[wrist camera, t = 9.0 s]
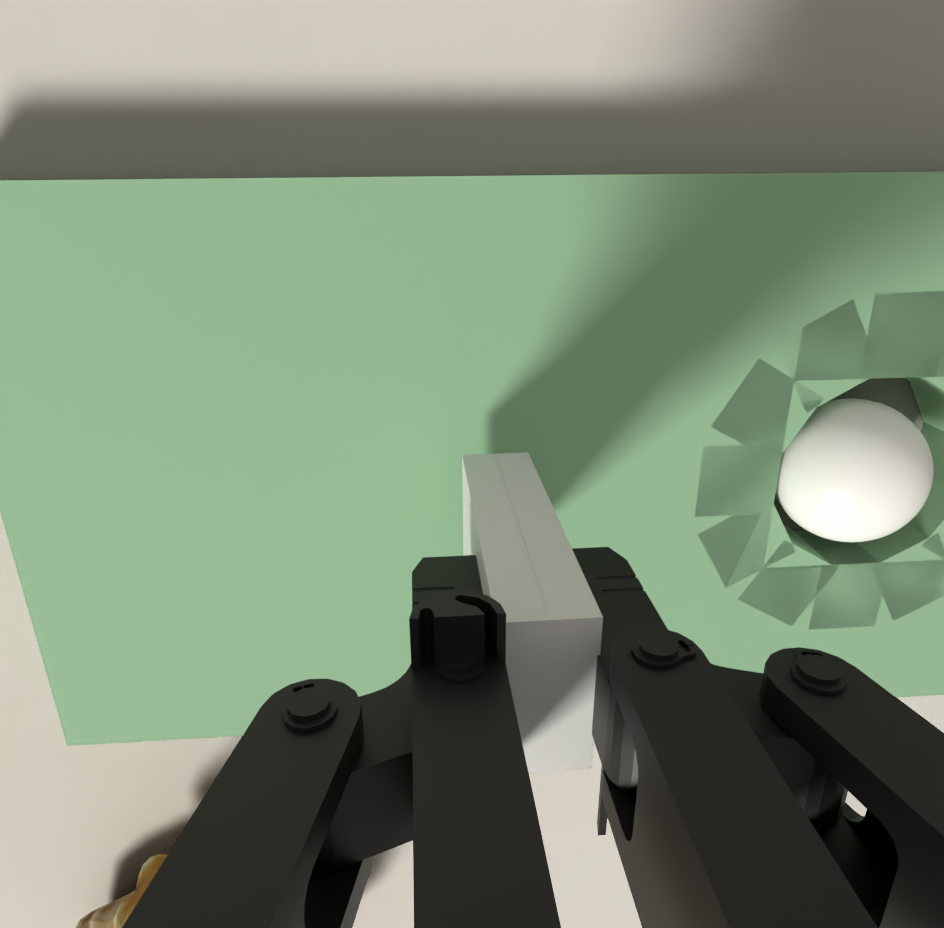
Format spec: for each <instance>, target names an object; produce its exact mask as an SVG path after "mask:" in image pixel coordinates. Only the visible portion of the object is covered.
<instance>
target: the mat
mask: <svg viewBox="0 0 944 928" xmlns="http://www.w3.org/2000/svg"><path fill="white" fill-rule="evenodd" d="M877 378H905V379H906V380H908V381H909V382H910V385H911V387H912V390H913V393H914V396H915V399H916V402H917V405H918V408H919V411H920V413H921V416H922V419H923V426H922V430H921V433H922V434H923V436H924V438H925V440H926V441H927V443H928V446H929V449H930V452H931V455H932V460H933V481H932V487H931V490H930V493H929V496H928V498H927V500H926V501H925V503H924V505H923V507H922V508H921V510H920V511H919V512H918V514H917V515H916V516H915V517H914V518H913V519H912V520H911V521H910V522H908V523H907V524H906V525H904V526H903V527H902V528H900V529H899V530H897V531H895V532H893V533H892V534H889V535H887V536H884V537H882V538H878V539H875V540H870V541H864V542H840V541H834V540H830V539H826V538H823V537H820V536H817V535H815V534H813V533H811V532H809V531H807V530H792V529H790V528H789V527H787V526H785V525H783V523H782V521H781V518H780V516H779V514H778V512H777V510H776V508H775V505H774V500H775V494H776V488H777V482H778V475H779V469H780V463H781V457H782V453H783V452H784V451H785V449H786V448H787V447H788V445H789V444H790V443H791V441H792V440H793V439H794V437H795V436H796V435H797V433H798V432H799V431H800V429H801V428H802V427H803V425H804V424H805V423H806V421H807V420H808V419H809V417H810V416H811V415H812V413H813V412H814V411H815V409H816V408H817V407H819V406H820V405H822V404H824V403H826V402H828V401H830V400H831V399H833V398H835V397H837V396H839V395H841V394H842V393H844V392H846V391H848V390H850V389H851V388H853V387H855V386H857V385H859V384H861V383H862V382H864V381H866V380H868V379H877ZM524 452H528V453H529V455H530V458H531V460H532V462H533V464H534V466H535V469H536V471H537V473H538V475H539V477H540V480H541V482H542V484H543V486H544V488H545V491H546V493H547V495H548V497H549V499H550V502H551V504H552V506H553V508H554V510H555V513H556V515H557V517H558V519H559V521H560V524H561V526H562V528H563V530H564V532H565V535H566V537H567V539H568V541H569V543H570V546H571V548H594V547H609V548H611V549H612V550H613V551H615V552H616V553H618V554H619V555H621V556H622V557H624V558H625V559H626V560H627V561H628V563H629V564H630V566H631V568H632V569H633V571H634V573H635V575H636V578H638V580H639V581H640V583H641V585H642V586H643V591H645V592H646V593H647V595H648V597H649V598H650V600H651V602H652V603H653V605H654V607H655V608H656V610H657V612H658V614H659V615H660V617H661V619H662V620H663V622H664V624H665V625H666V627H667V629H668V630H670V631H673V632H677V633H679V634H681V635H683V636H685V637H687V638H688V639H690V640H692V641H693V642H694V643H695V644H696V645H697V646H698V647H699V648H700V649H701V650H702V651H703V653H704V654H705V656H706V657H707V659H708V660H709V662H710V663H711V664H714V665H717V666H722V667H726V668H732V669H738V670H745V671H751V672H758V673H763V672H764V667H765V663H766V661H767V659H768V658H769V656H770V654H772V653H775V652H777V651H779V650H781V649H786V648H797V647H801V648H809V649H815V650H820V651H823V652H826V653H829V654H832V655H834V656H837V657H839V658H841V659H843V660H845V661H846V662H848V663H850V664H851V665H853V666H855V667H856V668H858V669H859V670H860V671H862V672H863V673H864V674H866V675H867V676H868V677H870V678H871V679H872V680H874V681H875V682H876V683H878V684H879V685H880V686H882V687H883V688H884V689H886V690H887V691H888V692H890V693H891V694H892V695H894V696H895V697H911V696H928V695H944V171H925V172H822V173H718V174H615V175H511V176H408V177H304V178H201V179H97V180H0V512H1V515H2V519H3V522H4V526H5V529H6V533H7V536H8V540H9V543H10V547H11V550H12V554H13V557H14V561H15V564H16V568H17V571H18V575H19V578H20V582H21V585H22V589H23V592H24V596H25V599H26V603H27V606H28V610H29V613H30V617H31V620H32V624H33V627H34V631H35V634H36V638H37V641H38V645H39V648H40V652H41V655H42V659H43V662H44V666H45V669H46V673H47V676H48V680H49V683H50V687H51V690H52V694H53V697H54V701H55V704H56V708H57V711H58V715H59V718H60V722H61V725H62V729H63V732H64V736H65V739H66V743H67V746H72V745H89V744H106V743H123V742H141V741H158V740H175V739H192V738H209V737H226V736H243V735H244V733H245V731H246V730H247V728H248V727H249V725H250V723H251V722H252V720H253V719H254V717H255V715H256V714H257V712H258V711H259V709H260V708H261V706H262V705H263V704H264V703H265V702H266V701H267V700H268V699H269V698H270V696H271V695H272V694H274V693H275V692H277V691H279V690H281V689H282V688H284V687H286V686H288V685H289V684H293V683H296V682H300V681H304V680H307V679H331V680H335V681H339V682H343V683H345V684H346V685H348V686H349V687H351V688H352V689H353V690H355V691H356V693H357V695H358V697H360V696H363V695H366V694H370V693H373V692H376V691H378V690H381V689H383V688H386V687H388V686H389V685H391V684H392V683H394V682H396V681H397V680H398V679H399V678H401V677H402V676H403V675H404V674H405V673H406V671H407V670H408V668H409V666H410V664H411V648H410V626H409V618H410V615H411V612H412V571H413V570H414V569H415V567H416V566H417V565H418V563H419V562H420V561H421V559H422V558H423V557H444V556H463V484H462V455H469V454H497V453H524Z"/></svg>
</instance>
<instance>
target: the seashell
mask: <svg viewBox="0 0 944 928" xmlns="http://www.w3.org/2000/svg"><path fill="white" fill-rule="evenodd" d="M167 855H168V854H158V855H155V856H152V857H150V858H149V859H148V860H147V861H146V862H145V863H144V864H143V865H142V868H141V870H140V873H139V876H138V881H137V885H136V889H135V890H134V891H133V892H131V893H130V894H128V895H126V896H124V897H122V898H120V899H118V900H116V901H114V902H111V903H109V904H107V905H105V906H103V907H100V908H98V909H96V910H94V911H92V912H90V913H89V914H87V915H86V916H85V917H83V918H82V919H81V920H80V921H79V923H78V924H77V926H76V928H122V927H123V925H124V924H125V922H126V920H127V919H128V917H129V916H130V914H131V912H132V911H133V909H134V908H135V906H136V904H137V903H138V901H139V900H140V898H141V897H142V895H143V893H144V892H145V890H146V889H147V887H148V885H149V884H150V882H151V881H152V879H153V877H154V876H155V874H156V873H157V871H158V870H159V868H160V866H161V865H162V863H163V862H164V860H165V858H166V857H167Z"/></svg>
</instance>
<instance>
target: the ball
mask: <svg viewBox="0 0 944 928" xmlns="http://www.w3.org/2000/svg"><path fill="white" fill-rule="evenodd" d="M932 481H933V460H932V455H931V452H930V449H929V446H928V443H927V441H926V440H925V438H924V436H923V434H922V433H921V432H920V430H919V429H918V428H917V427H916V426H915V425H914V424H913V423H912V422H911V421H910V420H909V419H908V418H907V417H906V416H904V415H903V414H902V413H900V412H899V411H897V410H895V409H893V408H892V407H889V406H887V405H884V404H882V403H878V402H875V401H871V400H865V399H854V398H849V399H838V400H832V401H828V402H826V403H824V404H822V405H820V406H819V407H817V408H816V409H815V411H814V412H813V413H812V415H811V416H810V417H809V419H808V420H807V421H806V423H805V424H804V425H803V427H802V428H801V429H800V431H799V432H798V433H797V435H796V436H795V437H794V439H793V440H792V441H791V443H790V444H789V445H788V447H787V448H786V449H785V451H784V452H783V453H782V457H781V463H780V469H779V475H778V482H777V488H776V494H775V496H776V498H777V500H778V502H779V504H780V505H781V507H782V508H783V510H784V511H785V512H786V514H787V515H788V516H789V517H790V518H791V519H792V520H793V521H794V522H796V523H797V524H798V525H799V526H801V527H803V528H804V529H806V530H807V531H809V532H811V533H813V534H815V535H817V536H820V537H823V538H826V539H830V540H834V541H840V542H864V541H870V540H875V539H878V538H882V537H884V536H887V535H889V534H892V533H893V532H895V531H897V530H899V529H900V528H902V527H903V526H904V525H906V524H907V523H908V522H910V521H911V520H912V519H913V518H914V517H915V516H916V515H917V514H918V512H919V511H920V510H921V508H922V507H923V505H924V503H925V501H926V500H927V498H928V496H929V493H930V490H931V487H932Z"/></svg>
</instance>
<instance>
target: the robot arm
mask: <svg viewBox="0 0 944 928" xmlns="http://www.w3.org/2000/svg"><path fill="white" fill-rule="evenodd" d="M462 484H463V556H444V557H423V558H422V559H421V561H420V562H419V563H418V565H417V566H416V567H415V569H414V570H413V571H412V612H411V615H410V618H409V626H410V648H411V664H410V666H409V668H408V670H407V671H406V673H405V674H404V675H403V676H402V677H401V678H399V679H398V680H397V681H396V682H394V683H392V684H391V685H389V686H388V687H386V688H383V689H381V690H378V691H376V692H373V693H370V694H366V695H363V696H360V697H358V695H357V693H356V691H355V690H353V689H352V688H351V687H349V686H348V685H346V684H345V683H343V682H339V681H335V680H331V679H307V680H304V681H300V682H296V683H293V684H289V685H288V686H286V687H284V688H282V689H281V690H279V691H277V692H275V693H274V694H272V695H271V696H270V698H269V699H268V700H267V701H266V702H265V703H264V704H263V705H262V706H261V708H260V709H259V711H258V712H257V714H256V715H255V717H254V719H253V720H252V722H251V723H250V725H249V727H248V728H247V730H246V731H245V733H244V735H243V736H242V738H241V739H240V741H239V742H238V744H237V746H236V747H235V749H234V750H233V752H232V754H231V755H230V757H229V758H228V760H227V762H226V763H225V765H224V766H223V768H222V769H221V771H220V773H219V774H218V776H217V777H216V779H215V781H214V782H213V784H212V785H211V787H210V789H209V790H208V792H207V793H206V795H205V796H204V798H203V800H202V801H201V803H200V804H199V806H198V808H197V809H196V811H195V812H194V814H193V816H192V817H191V819H190V820H189V822H188V823H187V825H186V827H185V828H184V830H183V831H182V833H181V835H180V836H179V838H178V839H177V841H176V843H175V844H174V846H173V847H172V849H171V850H170V852H169V854H168V855H167V857H166V858H165V860H164V862H163V863H162V865H161V866H160V868H159V870H158V871H157V873H156V874H155V876H154V877H153V879H152V881H151V882H150V884H149V885H148V887H147V889H146V890H145V892H144V893H143V895H142V897H141V898H140V900H139V901H138V903H137V904H136V906H135V908H134V909H133V911H132V912H131V914H130V916H129V917H128V919H127V920H126V922H125V924H124V925H123V927H122V928H352V926H353V923H354V920H355V917H356V913H357V910H358V907H359V904H360V901H361V898H362V895H363V891H364V888H365V885H366V882H367V879H368V876H369V873H370V870H371V866H372V857H373V856H374V855H376V854H379V853H381V852H384V851H386V850H389V849H392V848H394V847H397V846H399V845H402V844H404V843H407V842H409V841H412V840H413V854H414V928H561V926H560V921H559V917H558V912H557V907H556V902H555V898H554V893H553V888H552V883H551V878H550V874H549V869H548V864H547V859H546V855H545V850H544V845H543V840H542V835H541V831H540V826H539V821H538V816H537V811H536V807H535V802H534V797H533V792H532V788H531V783H530V778H529V773H533V772H547V771H561V770H575V769H589V768H592V763H593V749H594V742H595V745H596V748H597V751H598V754H599V757H600V760H601V763H602V769H601V782H600V794H599V807H598V819H597V825H598V835H606V823H607V818H608V820H609V823H610V826H611V829H612V832H613V835H614V839H615V842H616V845H617V848H618V851H619V855H620V858H621V861H622V864H623V867H624V870H625V874H626V877H627V880H628V883H629V886H630V890H631V893H632V896H633V899H634V902H635V906H636V909H637V912H638V915H639V918H640V921H641V925H642V928H944V733H943V732H941V731H940V730H939V729H937V728H936V727H935V726H933V725H932V724H931V723H929V722H928V721H927V720H925V719H924V718H923V717H921V716H920V715H919V714H917V713H916V712H915V711H913V710H912V709H911V708H909V707H908V706H907V705H905V704H904V703H903V702H901V701H900V700H899V699H897V698H896V697H895V696H894V695H892V694H891V693H890V692H888V691H887V690H886V689H884V688H883V687H882V686H880V685H879V684H878V683H876V682H875V681H874V680H872V679H871V678H870V677H868V676H867V675H866V674H864V673H863V672H862V671H860V670H859V669H858V668H856V667H855V666H853V665H851V664H850V663H848V662H846V661H845V660H843V659H841V658H839V657H837V656H834V655H832V654H829V653H826V652H823V651H820V650H815V649H809V648H801V647H797V648H786V649H781V650H779V651H777V652H775V653H772V654H770V656H769V658H768V659H767V661H766V663H765V667H764V672H763V673H758V672H751V671H745V670H738V669H732V668H726V667H722V666H717V665H714V664H711V663H710V662H709V660H708V659H707V657H706V656H705V654H704V653H703V651H702V650H701V649H700V648H699V647H698V646H697V645H696V644H695V643H694V642H693V641H692V640H690V639H688V638H687V637H685V636H683V635H681V634H679V633H677V632H673V631H670V630H668V629H667V627H666V625H665V624H664V622H663V620H662V619H661V617H660V615H659V614H658V612H657V610H656V608H655V607H654V605H653V603H652V602H651V600H650V598H649V597H648V595H647V593H646V592H645V591H643V586H642V585H641V583H640V581H639V580H638V578H636V575H635V573H634V571H633V569H632V568H631V566H630V564H629V563H628V561H627V560H626V559H625V558H624V557H622V556H621V555H619V554H618V553H616V552H615V551H613V550H612V549H611V548H609V547H594V548H571V546H570V543H569V541H568V539H567V537H566V535H565V532H564V530H563V528H562V526H561V524H560V521H559V519H558V517H557V515H556V513H555V510H554V508H553V506H552V504H551V502H550V499H549V497H548V495H547V493H546V491H545V488H544V486H543V484H542V482H541V480H540V477H539V475H538V473H537V471H536V469H535V466H534V464H533V462H532V460H531V458H530V455H529V453H528V452H524V453H497V454H469V455H462ZM848 791H849V792H850V793H851V794H852V795H853V796H854V797H855V798H856V799H858V800H859V801H860V802H861V803H862V804H863V805H864V806H865V807H866V808H867V812H866V815H865V817H863V816H860V815H859V814H858V813H857V812H855V811H854V810H853V809H852V808H851V807H850V806H849V805H848V804H846V803H845V800H846V796H847V792H848Z"/></svg>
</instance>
